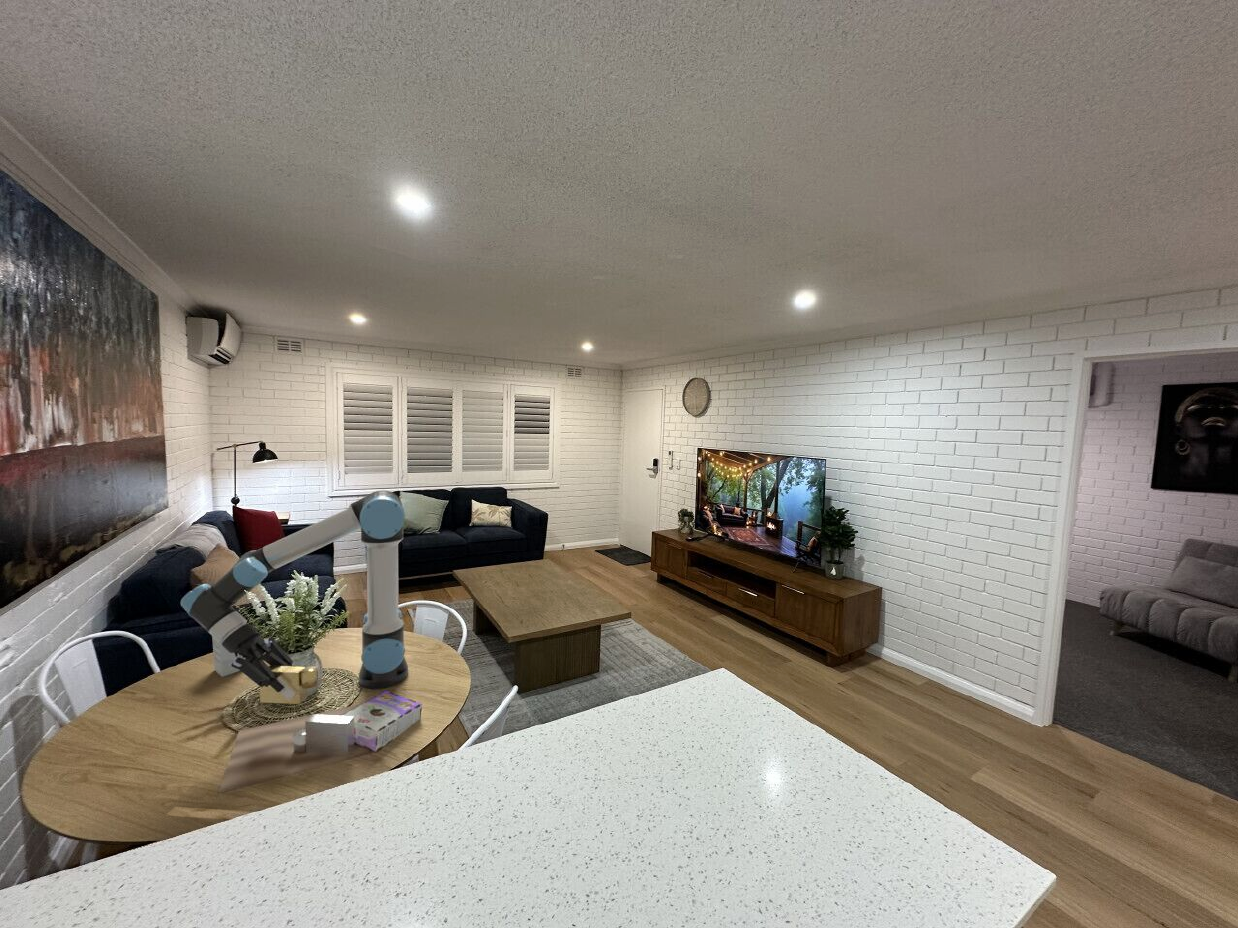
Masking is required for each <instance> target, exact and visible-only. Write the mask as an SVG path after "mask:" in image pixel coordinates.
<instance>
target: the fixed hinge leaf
mask: <svg viewBox="0 0 1238 928" xmlns="http://www.w3.org/2000/svg"><path fill="white" fill-rule="evenodd" d="M316 714H317V713H312V714H310V715H311V716H310V717H309V718H308V719H307V720H306V721H305V728H306V729H302V730H299V731H297V732H296V733H295V734H294V735H293V748H294V754H296V755H301V754H304V753H306V754H318V755H335V756H349V755H350V753H351V752H352V751H353V750H354V748H355V746H354V717H352V716H334V715H316Z"/></svg>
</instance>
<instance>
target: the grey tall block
mask: <svg viewBox="0 0 1238 928" xmlns="http://www.w3.org/2000/svg"><path fill="white" fill-rule="evenodd" d="M211 639H212V651H213V652H212V653H213V667H214V668H213V669H214V671H215V672H216V673H217V674H218V675H219V676H220V677H222V678H223V677H226V676H229V675H232V674H234V673H237V672H241V671H240V670H239V669H236V668H234V667H232V666H231V664H232V663H233V662H234V661H235V659H236V656H235V654H234V653H230V652H228V651H227V650H226V649H225V648H224V647H223V646H222V642H218V641H217V640H216V639H215V638H214V637H213V636H212V635H211Z"/></svg>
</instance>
